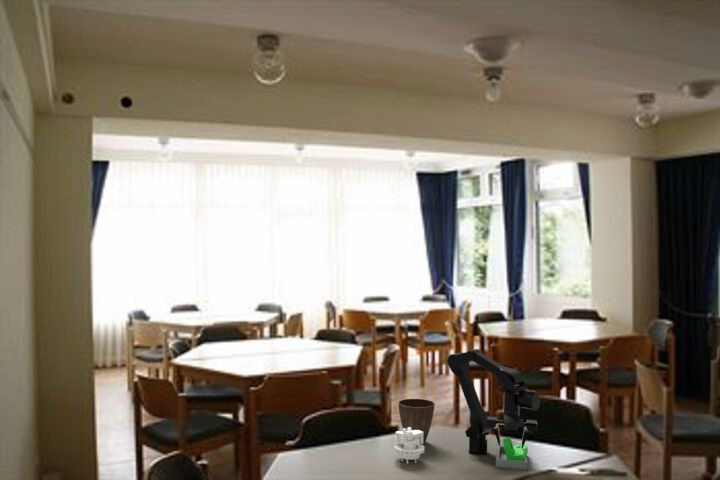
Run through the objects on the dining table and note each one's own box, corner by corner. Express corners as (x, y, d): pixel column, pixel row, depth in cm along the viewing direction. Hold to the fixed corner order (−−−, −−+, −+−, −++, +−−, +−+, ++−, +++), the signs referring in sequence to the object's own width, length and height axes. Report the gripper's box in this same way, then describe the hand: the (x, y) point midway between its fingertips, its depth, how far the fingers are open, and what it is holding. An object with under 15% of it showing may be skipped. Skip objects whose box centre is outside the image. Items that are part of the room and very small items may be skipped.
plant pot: (399, 435, 268) (399, 397, 268) (434, 437, 266) (435, 399, 266) (396, 446, 253) (396, 406, 253) (434, 448, 251) (434, 408, 251)
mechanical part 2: (524, 460, 229) (518, 438, 230) (508, 462, 232) (502, 440, 232) (529, 448, 240) (523, 428, 241) (513, 451, 243) (507, 430, 243)
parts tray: (495, 467, 230) (495, 459, 230) (497, 453, 246) (497, 445, 246) (527, 470, 227) (527, 462, 227) (526, 455, 244) (526, 447, 244)
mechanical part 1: (400, 467, 229) (400, 434, 229) (390, 456, 241) (390, 425, 241) (429, 464, 232) (429, 432, 232) (417, 454, 244) (418, 423, 244)
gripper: (485, 408, 231) (484, 451, 231) (538, 412, 227) (537, 456, 227) (486, 401, 242) (485, 442, 242) (537, 405, 238) (536, 447, 237)
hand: (510, 447), depth 237 cm, fingers open, 8 cm apart
